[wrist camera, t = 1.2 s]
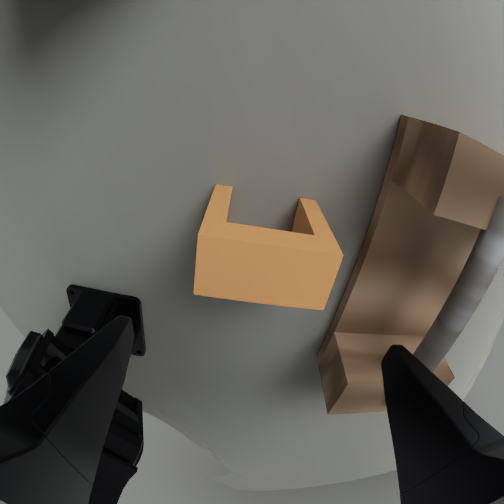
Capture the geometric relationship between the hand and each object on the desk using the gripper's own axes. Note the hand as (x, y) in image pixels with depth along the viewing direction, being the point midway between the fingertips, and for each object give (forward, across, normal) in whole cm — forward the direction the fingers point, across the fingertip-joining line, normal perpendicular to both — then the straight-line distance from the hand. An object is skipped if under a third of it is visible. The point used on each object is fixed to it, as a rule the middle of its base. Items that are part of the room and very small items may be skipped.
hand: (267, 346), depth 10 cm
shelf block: (+10, -12, +2) cm, 16 cm away
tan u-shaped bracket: (+10, 0, 0) cm, 10 cm away
